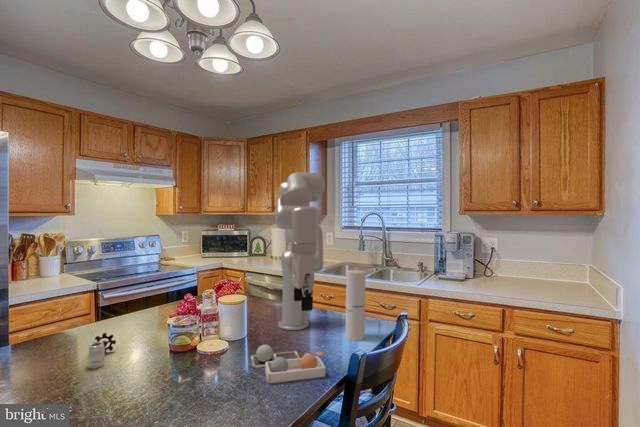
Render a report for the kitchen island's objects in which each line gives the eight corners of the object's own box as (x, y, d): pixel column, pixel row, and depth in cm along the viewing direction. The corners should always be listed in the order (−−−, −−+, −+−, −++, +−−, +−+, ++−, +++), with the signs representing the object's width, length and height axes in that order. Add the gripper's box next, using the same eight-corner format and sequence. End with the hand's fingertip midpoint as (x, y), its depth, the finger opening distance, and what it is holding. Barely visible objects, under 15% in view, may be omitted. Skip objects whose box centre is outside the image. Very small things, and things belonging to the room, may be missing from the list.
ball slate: (269, 372, 96) (269, 354, 96) (286, 370, 98) (286, 353, 98) (271, 380, 91) (272, 362, 91) (289, 378, 93) (289, 360, 93)
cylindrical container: (363, 341, 121) (364, 273, 121) (344, 339, 123) (345, 272, 123) (364, 334, 128) (366, 270, 128) (346, 333, 130) (347, 269, 130)
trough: (265, 371, 97) (265, 361, 97) (318, 365, 102) (318, 356, 102) (268, 385, 90) (268, 374, 90) (325, 378, 94) (325, 367, 94)
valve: (107, 367, 98) (116, 351, 109) (107, 345, 98) (116, 331, 109) (80, 371, 96) (92, 354, 107) (81, 348, 96) (92, 333, 107)
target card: (299, 353, 111) (299, 351, 111) (325, 350, 113) (325, 348, 113) (303, 361, 105) (303, 359, 105) (330, 358, 107) (330, 356, 107)
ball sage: (255, 358, 105) (255, 342, 105) (271, 357, 106) (271, 341, 106) (256, 365, 100) (257, 349, 100) (273, 364, 102) (273, 347, 102)
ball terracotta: (297, 368, 99) (298, 351, 98) (314, 366, 100) (314, 350, 100) (301, 377, 94) (302, 360, 94) (318, 375, 95) (319, 358, 95)
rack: (250, 358, 106) (250, 355, 106) (296, 353, 110) (296, 350, 110) (252, 369, 98) (252, 366, 98) (301, 364, 103) (301, 361, 103)
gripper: (286, 245, 106) (285, 298, 106) (298, 252, 89) (296, 315, 90) (308, 244, 108) (307, 296, 108) (324, 252, 92) (323, 313, 92)
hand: (302, 305), depth 99 cm, fingers open, 9 cm apart
